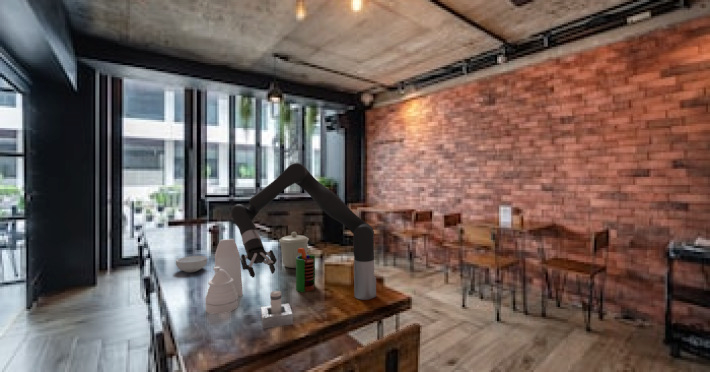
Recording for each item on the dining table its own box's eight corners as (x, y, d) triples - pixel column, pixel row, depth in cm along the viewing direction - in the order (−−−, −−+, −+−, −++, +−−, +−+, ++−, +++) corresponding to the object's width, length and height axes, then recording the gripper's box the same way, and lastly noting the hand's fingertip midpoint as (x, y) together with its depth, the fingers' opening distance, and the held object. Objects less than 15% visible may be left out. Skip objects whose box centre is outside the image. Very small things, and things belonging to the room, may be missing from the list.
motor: (310, 292, 166) (309, 251, 165) (292, 291, 168) (292, 250, 167) (317, 285, 176) (316, 246, 175) (300, 284, 177) (299, 246, 177)
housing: (289, 313, 142) (288, 303, 142) (292, 324, 131) (292, 313, 131) (261, 316, 139) (261, 307, 138) (262, 328, 128) (262, 317, 128)
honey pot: (218, 316, 140) (217, 272, 139) (199, 309, 146) (197, 267, 146) (244, 305, 150) (243, 264, 150) (224, 300, 157) (223, 260, 157)
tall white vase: (215, 299, 159) (213, 242, 157) (214, 291, 169) (213, 238, 168) (242, 295, 163) (241, 240, 162) (240, 287, 174) (239, 236, 173)
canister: (306, 269, 205) (306, 234, 204) (276, 270, 205) (275, 234, 204) (311, 261, 223) (310, 229, 222) (283, 262, 223) (282, 229, 222)
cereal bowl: (213, 269, 208) (213, 257, 208) (187, 276, 194) (186, 263, 194) (196, 265, 218) (196, 254, 217) (170, 272, 203) (170, 260, 203)
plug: (281, 317, 138) (280, 290, 137) (282, 321, 134) (281, 293, 133) (270, 319, 136) (269, 291, 136) (271, 323, 132) (270, 295, 132)
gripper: (238, 239, 145) (249, 272, 136) (270, 235, 154) (282, 266, 145) (234, 250, 149) (244, 282, 141) (265, 245, 158) (277, 276, 150)
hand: (263, 274), depth 143 cm, fingers open, 8 cm apart
